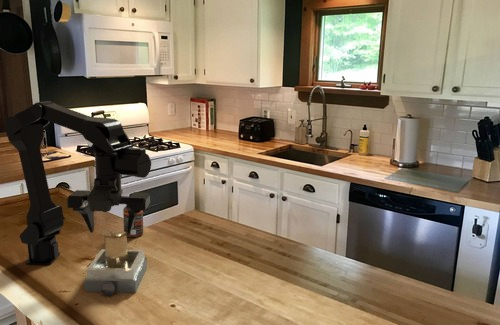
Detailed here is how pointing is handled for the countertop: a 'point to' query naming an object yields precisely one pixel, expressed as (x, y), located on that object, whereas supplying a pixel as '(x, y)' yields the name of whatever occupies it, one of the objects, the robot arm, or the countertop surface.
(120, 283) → the grey open box
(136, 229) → the supplement bottle
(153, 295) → the countertop surface
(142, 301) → the countertop surface
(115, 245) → the spout can
